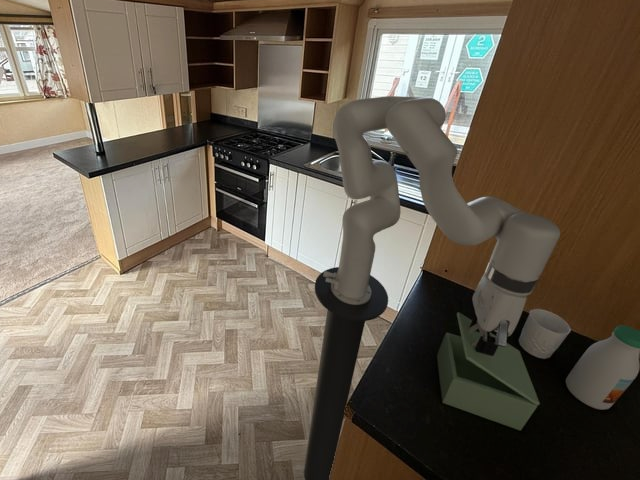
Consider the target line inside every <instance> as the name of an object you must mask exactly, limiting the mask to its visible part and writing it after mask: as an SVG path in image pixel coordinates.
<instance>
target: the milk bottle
mask: <svg viewBox="0 0 640 480" xmlns="http://www.w3.org/2000/svg"><path fill="white" fill-rule="evenodd" d="M639 372H640V330H638V329H636V328H635V327H631V326H628V325H622V324H620V325H617V326H616V327H615V328H614V329H613V331H612V332H611V336H610V337H608V338H606V339H602V340H599V341H597V342H596V341H595V342H594V343H592V344H591V345H590V346H589V347H588V348H587V349H586V350H585V352H584V353H583V354H582V356H580V358H579V360H578V361H577V362H576V363H575V365H574V367H573V368H572V369H571V370H570V372H569V373H568V375H567V376H566V378H565V385H566V388H567V389H568V391H569V392H570V393H571V395H573V396H574V397H575V398H576V399H577V400H579V401H580V402H581V403H583V404H584V405H586V406H588V407H591V408H593V409H596V410H603V411H604V410H609V409H611V407H613V405H614V404H615V403H616V402H617V401H618V400H619V398H620V397H621V396H622V395H623V394H624V393H625V392H626V390H627V389H628V388H629V387H630V386H631V384H632V383H633V382H634V380H635V379H636V378H637V377H638V374H639Z"/></svg>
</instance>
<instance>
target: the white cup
mask: <svg viewBox="0 0 640 480" xmlns="http://www.w3.org/2000/svg"><path fill="white" fill-rule="evenodd" d="M525 320H526V321H525V322H524V325H523V328H522V330H521V333H520V336H519V337H518V343H519V346H520V347H521V348H522V349H523V350H524V351H525V352H527V353H528V354H530V355H531V356H534V357H535V358H537V359H543V360H547V359H549V358H551V356H552V355H553V354H554V353H555V351H557V350H558V349H559V347H560V346H561V345H562V344H563V342H564V341H565V340H566V338H567V337H568V336H569V335H570V333H571V331H572V328H571V326H570V324H569V323H568V322H567V321H566V320H565V319H564V318H562V317H561V316H559V315H558V314H557V313H554V312H552V311H549V310H546V309H542V308H534V309H533V308H532V309H531V310H530V311H529V314H528V316H527V318H526V319H525Z"/></svg>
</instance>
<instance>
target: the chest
mask: <svg viewBox="0 0 640 480" xmlns="http://www.w3.org/2000/svg"><path fill="white" fill-rule="evenodd" d="M436 361H437V368H438V369H437V370H438V376H439V377H438V378H439V386H440V394H441V402H442V404H445V405H448V406H451V407H453V408H456V409H459V410H461V411H463V412H464V411H465V412H467V413H470V414H473V415H475V416H478V417H481V418H484V419H487V420H489V421H492V422H495V423H497V424H501V425H503V426H505V427H509V428H512V429H514V430H516V431H520V432H521V431H522V430H523V428H524V426H525V425H526V424H527V423H528V421H529V419H530V418H531V416H532V415H533V413H534V412H535V411H536V409H537V408H538V405H536V404H534V403H533V402H531V401H530V400H528V399H527V398H525V397H524V396H522V395H521V394H519V393H518V392H516V391H514V390H513V389H511V388H510V387H508V386H507V385H505V384H504V383H502V382H501V381H499V380H498V379H496V378H495V377H493V376H492V375H490V374H489V373H487V372H486V371H484V370H483V369H481V368H480V367H478V366H477V365H475V364H474V363H472V362H470V361H469V360H467V359H466V356H465V351H464V347H463V342H462V337H461V335H457V334H453V333H450V332H445V334H444V337H443V339H442V342H441V344H440V346H439V349H438V352H437V353H436Z"/></svg>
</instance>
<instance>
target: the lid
mask: <svg viewBox="0 0 640 480" xmlns="http://www.w3.org/2000/svg"><path fill="white" fill-rule="evenodd" d="M456 318H457V322H458V327H459V331H460V332H459V333H460V336H461V337H462V342H463V347H464V351H465V356H466V359H467V360H469V361H470V362H472V363H474V364H475V365H477V366H478V367H480V368H481V369H483V370H484V371H486V372H487V373H489V374H490V375H492V376H493V377H495V378H496V379H498V380H499V381H501V382H502V383H504V384H505V385H507V386H508V387H510V388H511V389H513V390H514V391H516V392H518V393H519V394H521V395H522V396H524V397H525V398H527V399H528V400H530V401H531V402H533V403H534V404H536V405H537V406H539V405H541V403H540V401H539V398H538V396H537V395H538V394H537V392H536V390H535V387H534V385H533V383H532V380H531V377H530V375H529V372H528V369H527V367H526V365H525V362H524V360H523V359H524V358H523V357H522V354H521V351H520V350H519V349H517V348H516V347H514V346H512V345H511V344H509V343H508V342H506V347H501V346H498V348H497V350H496V352H495V354H494V356H490V355H486V354H483V353H479V352H476V350H475V347H476V345H477V343H478V341H479V338H480V336H483V334H484V330H483V329H482V328H481V327H480V325H479V322H478V320H477V324H475V325H474V326H472V327H470V324H471V322H472V320H473V319H470V318H469V317H467V316H465V315H464V314H463V313H461V312H459V311H457V312H456ZM477 329H479V331H480V332H476V331H475V330H477ZM489 336H492V337H496V335H495V334H493V332H491V331H490V334H489Z"/></svg>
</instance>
